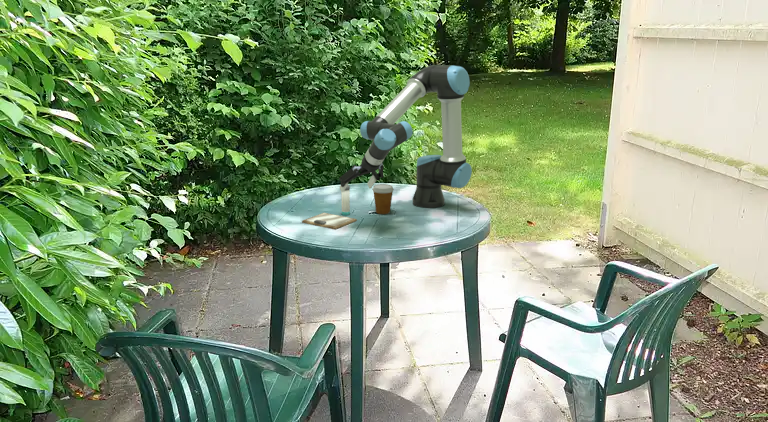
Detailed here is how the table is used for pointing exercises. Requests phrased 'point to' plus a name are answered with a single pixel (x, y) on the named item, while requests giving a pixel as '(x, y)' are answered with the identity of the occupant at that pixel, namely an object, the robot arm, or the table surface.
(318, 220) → the clipboard
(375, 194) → the disposable coffee cup
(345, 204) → the ball
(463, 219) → the table surface
